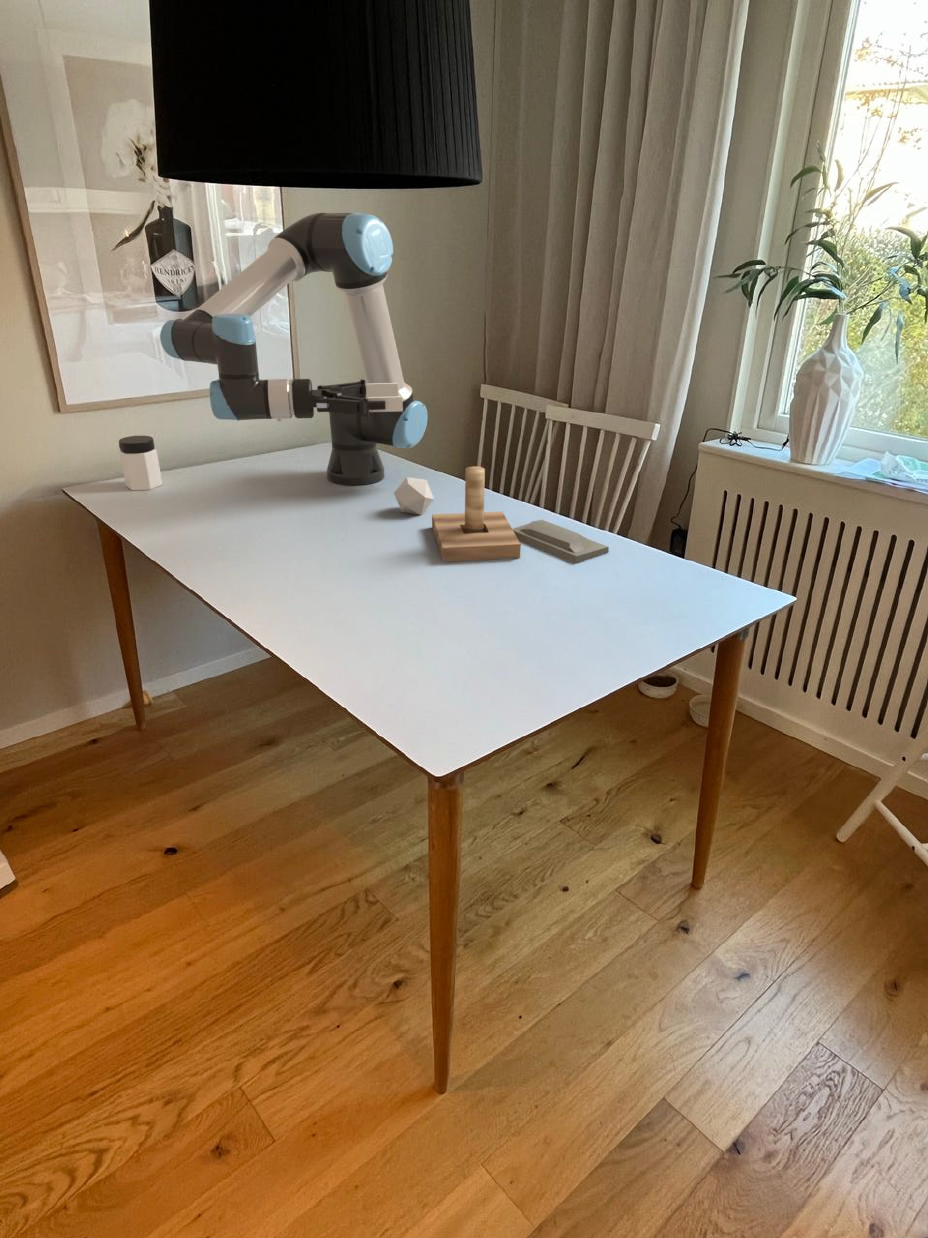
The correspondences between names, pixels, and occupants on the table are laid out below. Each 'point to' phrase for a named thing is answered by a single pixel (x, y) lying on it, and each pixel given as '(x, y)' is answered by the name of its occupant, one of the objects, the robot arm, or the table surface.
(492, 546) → the board
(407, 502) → the die
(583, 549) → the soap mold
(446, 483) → the table surface
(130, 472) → the jar
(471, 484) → the oak leg
